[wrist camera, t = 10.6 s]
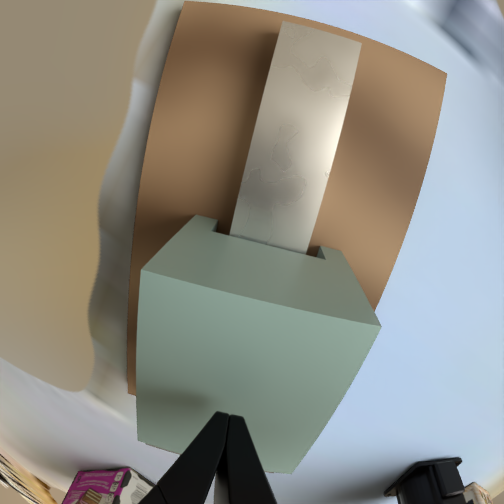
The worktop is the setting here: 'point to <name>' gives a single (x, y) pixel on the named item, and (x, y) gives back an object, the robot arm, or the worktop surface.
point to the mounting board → (241, 132)
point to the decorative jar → (477, 494)
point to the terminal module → (246, 341)
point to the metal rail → (295, 137)
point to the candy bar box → (108, 487)
